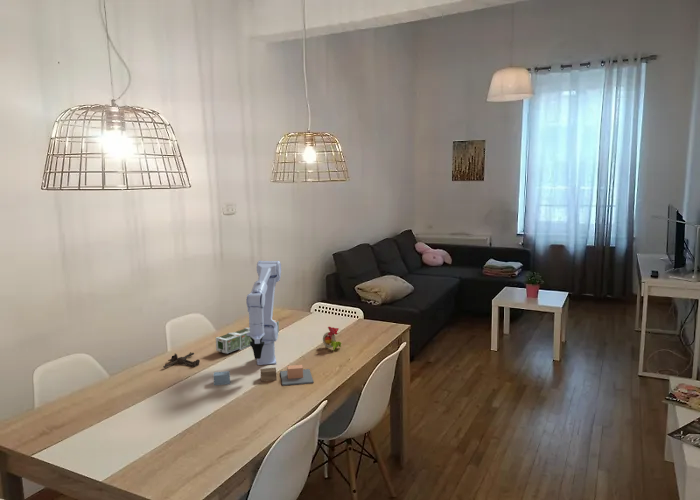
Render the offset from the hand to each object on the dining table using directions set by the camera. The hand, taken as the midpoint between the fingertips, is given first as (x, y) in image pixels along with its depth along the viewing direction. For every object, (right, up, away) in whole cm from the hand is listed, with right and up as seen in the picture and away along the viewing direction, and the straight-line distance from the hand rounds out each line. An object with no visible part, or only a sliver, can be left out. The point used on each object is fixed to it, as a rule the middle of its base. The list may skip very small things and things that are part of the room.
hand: (257, 355), depth 210 cm
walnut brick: (+5, -9, -3) cm, 11 cm away
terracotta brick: (+15, -8, -2) cm, 18 cm away
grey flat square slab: (+16, -9, -1) cm, 18 cm away
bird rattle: (+28, -4, +31) cm, 43 cm away
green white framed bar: (-11, -2, +39) cm, 40 cm away
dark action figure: (-34, -7, +14) cm, 37 cm away
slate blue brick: (-13, -10, -6) cm, 17 cm away
